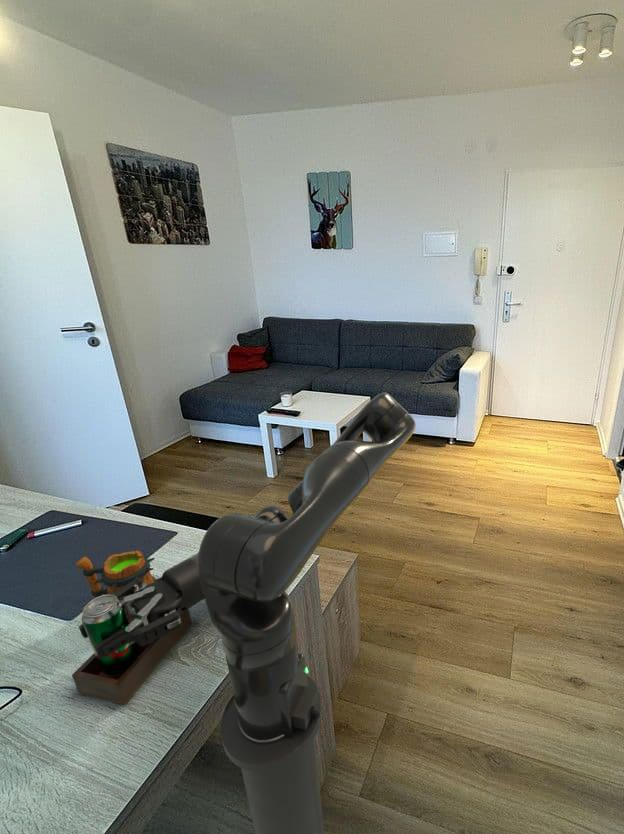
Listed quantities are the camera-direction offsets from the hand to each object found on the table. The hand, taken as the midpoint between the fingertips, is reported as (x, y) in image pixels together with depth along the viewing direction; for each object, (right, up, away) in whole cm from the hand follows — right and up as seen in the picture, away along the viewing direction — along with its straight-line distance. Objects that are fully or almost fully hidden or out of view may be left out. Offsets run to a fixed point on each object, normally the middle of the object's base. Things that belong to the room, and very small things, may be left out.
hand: (89, 642), depth 63 cm
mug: (-6, -2, +18) cm, 19 cm away
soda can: (+2, -6, +5) cm, 8 cm away
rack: (+2, -7, +9) cm, 11 cm away
